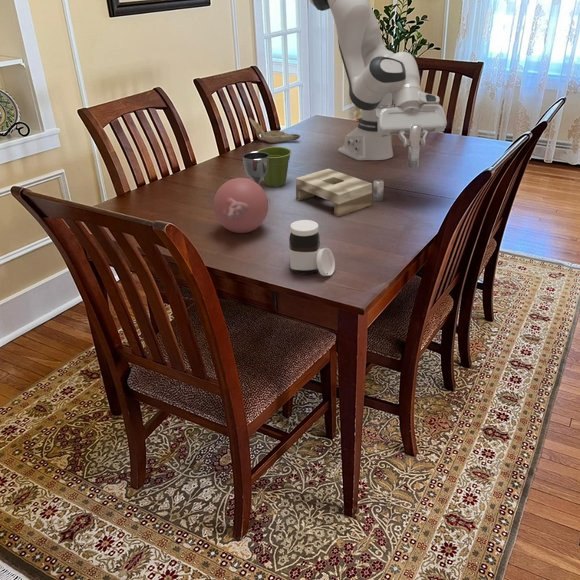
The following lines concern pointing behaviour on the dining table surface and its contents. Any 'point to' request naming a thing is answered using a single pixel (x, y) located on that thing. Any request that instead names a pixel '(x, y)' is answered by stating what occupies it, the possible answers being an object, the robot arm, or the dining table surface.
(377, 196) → the short pin
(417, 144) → the grey peg
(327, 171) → the board
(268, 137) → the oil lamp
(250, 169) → the wine glass
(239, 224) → the balloon
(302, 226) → the spread jar
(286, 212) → the dining table surface
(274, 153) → the plant pot
